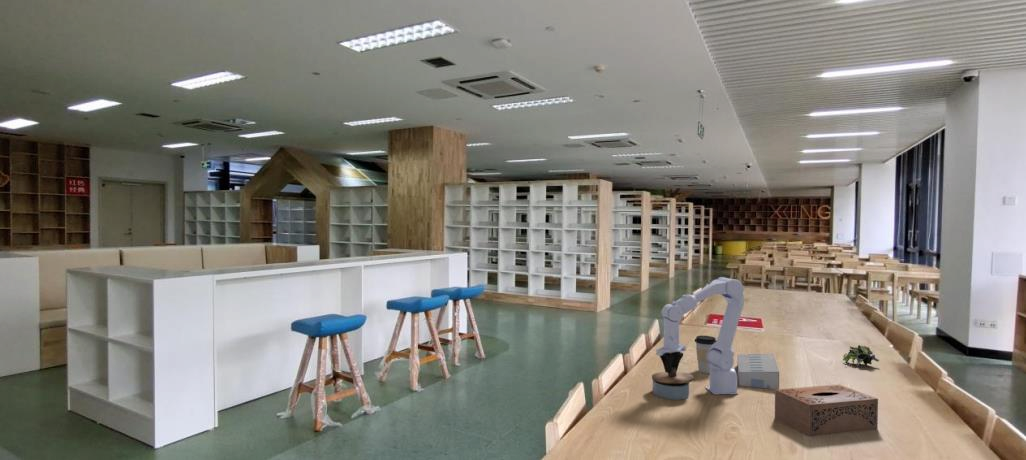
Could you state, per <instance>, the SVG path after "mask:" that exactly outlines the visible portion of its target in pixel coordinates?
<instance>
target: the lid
mask: <svg viewBox="0 0 1026 460" xmlns="http://www.w3.org/2000/svg"><path fill="white" fill-rule="evenodd" d="M651 379H652V381H653V380H654V381H657V382H661V383H671V384H679V383H687V382H689V383H691V382H693V381H694V376H693V375H692V374H690V373H687V372H682V371H677V372H676V368H674V367H671V373H667V372H665V371H662V372H656V373H653V374H652V375H651Z"/></svg>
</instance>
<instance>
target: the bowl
mask: <svg viewBox="0 0 1026 460" xmlns="http://www.w3.org/2000/svg"><path fill="white" fill-rule="evenodd" d="M652 393H653V395H655V396H657V397H658V396H659V398H662V399H665V400H675V401H676V400H679V401H680V400H685V399H688V398H689V396H690V382H687V383H679V384H671V383H661V382H657V381H654V380H653V379H652Z"/></svg>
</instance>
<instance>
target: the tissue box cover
mask: <svg viewBox="0 0 1026 460" xmlns="http://www.w3.org/2000/svg"><path fill="white" fill-rule="evenodd" d="M774 390H775V391H774V420H776V421H778V422H780V423H783V424H784V425H786V426H788V427H790V428H792V429H794V430H796V431H798V432H799V433H802V434H803V435H806V437H807V436H808V437H817V436H818V437H819V436H825V435H827V436H828V435H836V434H845V433H855V432H863V431H864V432H865V431H872V430H873V431H874V430H878V428H879V427H878V420H879V419H878V418H879V417H878V416H879V412H878V411H879V398H876V397H874V396H872V395H868V394H866V393H863V392H860V391H859V390H858V391H857V390H856V389H853V388H850V387H847V386H844V385H841V384H830V385H829V384H828V385H817V386H816V385H815V386H806V387H805V386H802V387H790V388H779V389H774Z"/></svg>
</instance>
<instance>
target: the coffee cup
mask: <svg viewBox="0 0 1026 460" xmlns="http://www.w3.org/2000/svg"><path fill="white" fill-rule="evenodd" d="M716 341H717V338H716V337H715V336H710V335H697V336H696V337H695V338H694V342H695V345H696V346H695V347H696V348H695V349H696V359H697V366H698V367H697V368H698V371H699V373H702V374H710V363H709V362H708V361H707V358H706V356H707V352H708V351H709V350H710V349H711V346H712V344H714V343H715V342H716Z"/></svg>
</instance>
